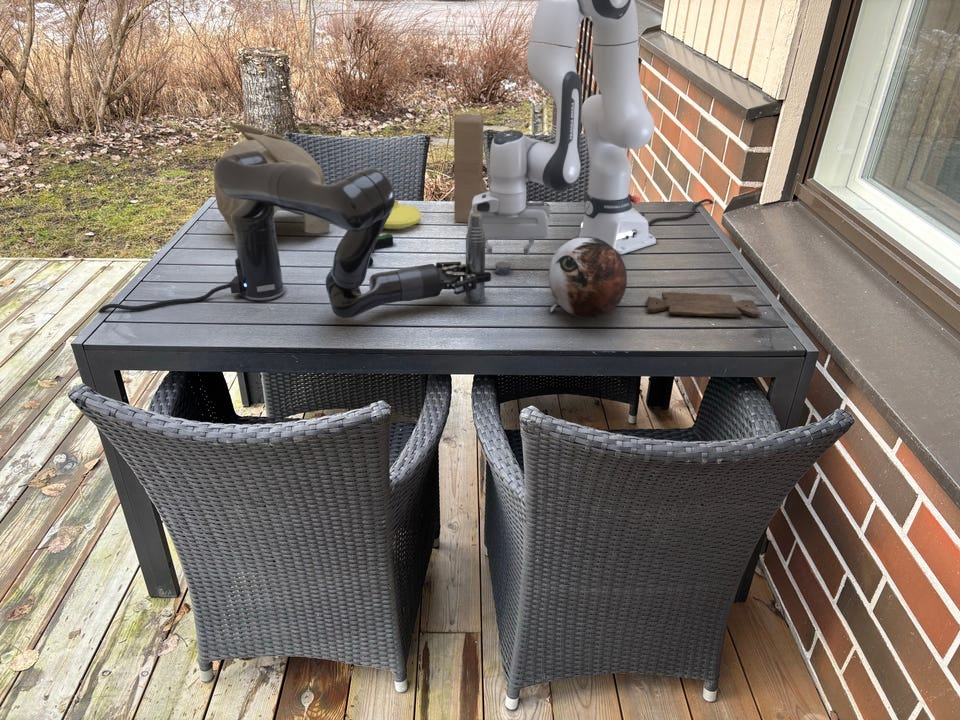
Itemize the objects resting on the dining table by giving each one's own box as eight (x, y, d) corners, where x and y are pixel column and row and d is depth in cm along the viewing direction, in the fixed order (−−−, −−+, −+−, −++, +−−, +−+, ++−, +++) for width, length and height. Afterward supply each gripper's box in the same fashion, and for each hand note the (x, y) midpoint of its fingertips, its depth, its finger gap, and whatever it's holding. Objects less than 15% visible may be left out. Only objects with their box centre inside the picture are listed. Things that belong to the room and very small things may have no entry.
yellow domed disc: (376, 214, 219) (375, 191, 216) (426, 217, 218) (426, 194, 214) (362, 232, 206) (360, 208, 202) (415, 235, 204) (415, 212, 201)
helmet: (343, 239, 203) (337, 131, 188) (240, 258, 188) (224, 142, 173) (305, 212, 222) (297, 112, 207) (209, 227, 207) (192, 120, 192)
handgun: (350, 260, 182) (332, 238, 193) (351, 270, 183) (333, 248, 194) (409, 250, 188) (388, 230, 200) (409, 261, 190) (389, 240, 201)
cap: (509, 275, 182) (509, 267, 181) (494, 274, 182) (494, 267, 181) (510, 269, 185) (511, 262, 184) (496, 268, 185) (496, 261, 184)
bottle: (465, 303, 168) (465, 217, 157) (465, 295, 171) (466, 210, 161) (484, 304, 168) (485, 217, 157) (484, 295, 171) (486, 211, 161)
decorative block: (503, 225, 212) (507, 121, 197) (454, 222, 214) (453, 119, 199) (506, 217, 219) (509, 115, 204) (458, 214, 221) (458, 113, 205)
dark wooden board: (642, 297, 172) (648, 316, 163) (643, 291, 171) (649, 310, 162) (751, 300, 171) (762, 319, 162) (752, 293, 170) (764, 313, 161)
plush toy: (524, 268, 172) (583, 208, 164) (577, 314, 177) (637, 258, 168) (521, 307, 153) (588, 241, 144) (581, 357, 157) (649, 296, 149)
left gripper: (426, 280, 154) (499, 268, 159) (406, 256, 165) (474, 246, 171) (427, 311, 157) (498, 298, 163) (407, 285, 169) (474, 275, 175)
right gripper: (550, 196, 176) (548, 248, 183) (467, 196, 177) (469, 248, 184) (551, 205, 170) (549, 258, 178) (465, 205, 172) (467, 258, 179)
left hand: (485, 272), depth 167 cm, fingers closed on bottle, 4 cm apart
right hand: (507, 253), depth 181 cm, fingers open, 8 cm apart
